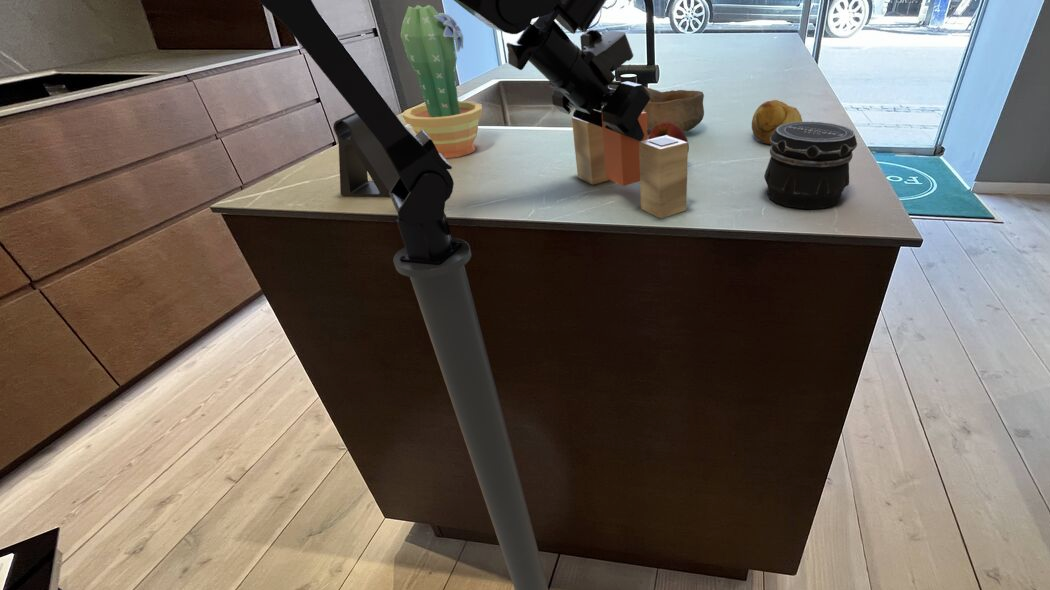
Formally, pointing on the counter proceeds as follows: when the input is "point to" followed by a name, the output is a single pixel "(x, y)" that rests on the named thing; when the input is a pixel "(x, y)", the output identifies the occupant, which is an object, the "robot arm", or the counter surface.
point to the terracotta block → (623, 154)
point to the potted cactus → (438, 82)
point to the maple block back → (589, 151)
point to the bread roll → (772, 118)
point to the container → (809, 164)
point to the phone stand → (362, 160)
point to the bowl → (675, 108)
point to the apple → (668, 131)
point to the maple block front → (663, 175)
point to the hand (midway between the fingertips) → (632, 134)
